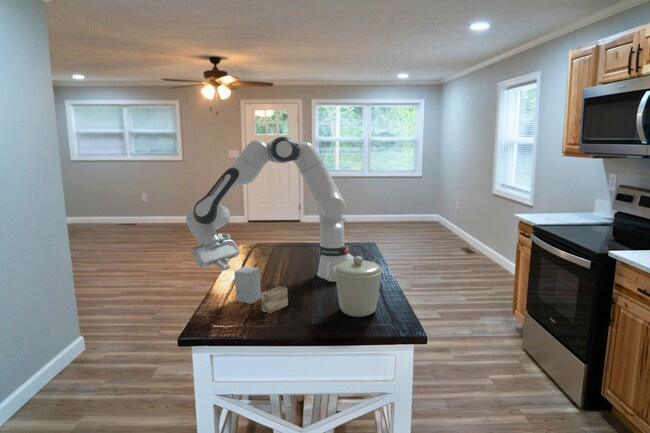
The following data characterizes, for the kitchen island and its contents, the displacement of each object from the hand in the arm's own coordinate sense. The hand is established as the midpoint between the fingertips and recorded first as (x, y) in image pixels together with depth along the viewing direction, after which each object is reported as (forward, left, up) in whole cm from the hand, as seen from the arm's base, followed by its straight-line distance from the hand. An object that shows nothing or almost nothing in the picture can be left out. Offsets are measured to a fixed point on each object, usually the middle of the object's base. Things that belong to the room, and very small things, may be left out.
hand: (226, 269), depth 176 cm
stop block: (-24, +14, -10) cm, 29 cm away
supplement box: (-11, +6, -11) cm, 16 cm away
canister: (-55, +13, -11) cm, 58 cm away
